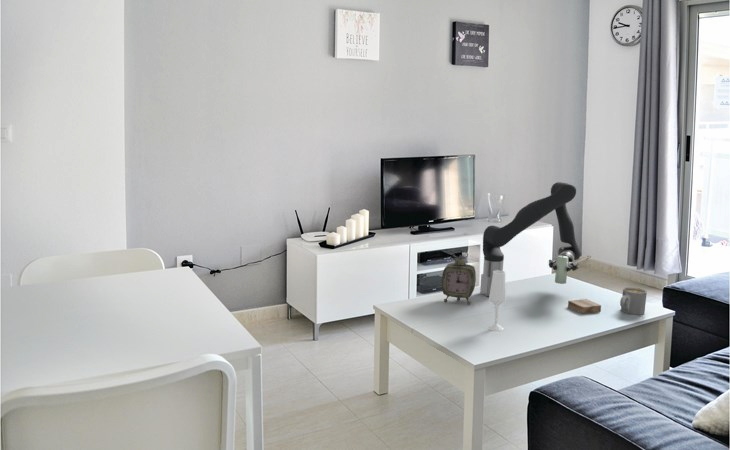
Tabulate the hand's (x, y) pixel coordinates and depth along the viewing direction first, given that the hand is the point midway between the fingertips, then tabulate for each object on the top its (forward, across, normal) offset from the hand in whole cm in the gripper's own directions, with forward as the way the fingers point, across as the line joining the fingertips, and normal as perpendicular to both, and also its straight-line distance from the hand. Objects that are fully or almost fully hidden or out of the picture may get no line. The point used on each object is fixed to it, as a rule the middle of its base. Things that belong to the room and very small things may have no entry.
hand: (561, 268), depth 301 cm
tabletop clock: (+15, -43, +18) cm, 49 cm away
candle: (-3, 0, +7) cm, 7 cm away
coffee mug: (-7, +30, +18) cm, 36 cm away
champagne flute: (+43, -20, +18) cm, 50 cm away
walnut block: (-1, +11, +18) cm, 21 cm away
